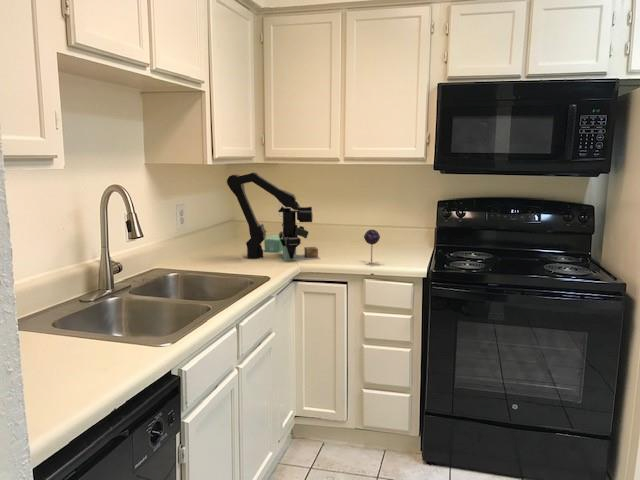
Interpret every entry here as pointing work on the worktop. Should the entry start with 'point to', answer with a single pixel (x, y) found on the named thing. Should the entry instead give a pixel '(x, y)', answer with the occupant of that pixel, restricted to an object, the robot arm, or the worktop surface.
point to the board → (300, 258)
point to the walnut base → (311, 252)
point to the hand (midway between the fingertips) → (289, 256)
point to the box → (273, 244)
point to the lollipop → (371, 238)
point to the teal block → (285, 253)
